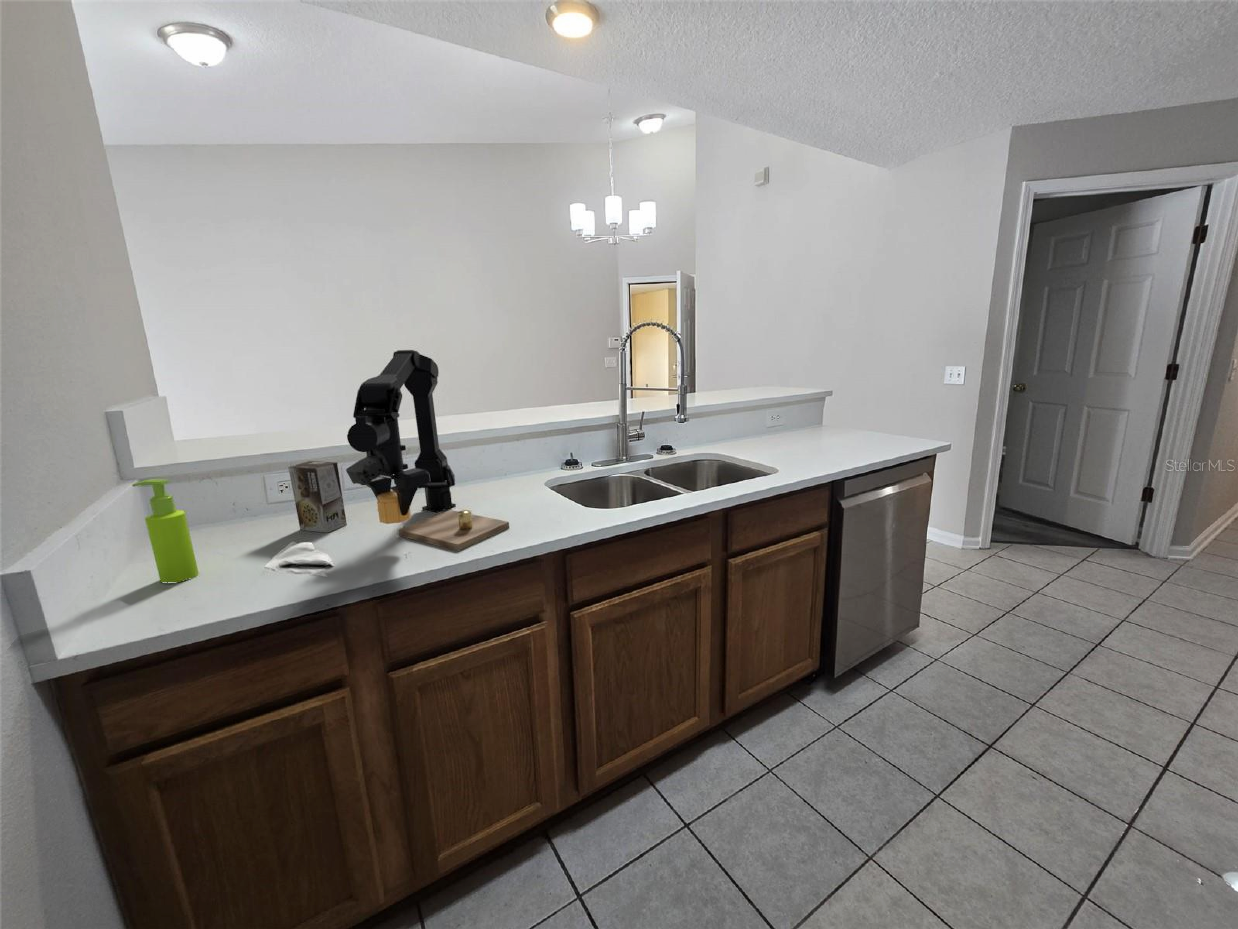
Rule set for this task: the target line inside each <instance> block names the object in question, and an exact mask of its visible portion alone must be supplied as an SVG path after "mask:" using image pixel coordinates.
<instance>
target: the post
mask: <svg viewBox="0 0 1238 929" xmlns="http://www.w3.org/2000/svg"><path fill="white" fill-rule="evenodd" d="M471 514H472V511H471V510H470V509H461V510H458V520H459V529H460V530H462V531H466V530H470V529H472V528H473V525H472V515H471Z"/></svg>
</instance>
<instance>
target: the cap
mask: <svg viewBox="0 0 1238 929" xmlns="http://www.w3.org/2000/svg"><path fill="white" fill-rule="evenodd" d="M377 498H378V500H377V502H376V503H377V511H378V519H379V522H380V523H383V524H388V525H389V524H399V523H402V522H405V521H409V520H410V519H411V517H412V515H411V514H412V513H411V507H410V508H409V511H408V513H407V515H404V516H403V515H402V514H401V511H400V507H399V502H398V497H397V493H396V492H394V491H393V490H391V491H389V492H385V493H381V494H379V495H378V496H377ZM377 498H376V499H377Z"/></svg>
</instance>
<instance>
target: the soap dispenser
mask: <svg viewBox="0 0 1238 929" xmlns="http://www.w3.org/2000/svg"><path fill="white" fill-rule="evenodd" d="M168 483H170V481H169V479H165V478H153V479H146V480H141V481H138V482H136V483H133V484H131V486H132V487H134V488H135V487H139V486H151V487H152V491H153V496H151V497H150V498H149V504H150V507H151V512H152V514H150V515H147V516H146V517H144V518H145V524H146V529H147V532H148V537H149V540H150V543H151V548H152V551H153V557H154V560H155V564H156V565H155V566H156V568H157V569H156V570H157V572H158V573H157V574H158V577H159V581H160V583H161V582H167V583H168V582H180V581H183V580H186V579H189V578H192V579H194V578H196V577H197V576H198V575H199V569H198V565H197V561H196V556H195V551H194V548H193V542H192V539H191V534H190V529H189V525H188V521H187V517H186V512H185V510H182V509H177V508H176V505H175V501H174V496H173V494H169V493H167V491H166V488H165V484H168ZM196 575H197V576H196ZM195 576H196V577H195ZM193 577H194V578H193ZM189 580H190V579H189ZM183 582H184V581H183ZM180 583H181V582H180Z"/></svg>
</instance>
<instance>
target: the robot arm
mask: <svg viewBox="0 0 1238 929" xmlns="http://www.w3.org/2000/svg"><path fill="white" fill-rule="evenodd" d="M438 378H439V366H438V364H437V363H436V362H435V361H434V360H433V359H432V358H431V357H428V356H426V355H423V354H420V353H419V351H418V350H414V349H399V350H398V349H397V351H393V354H392V358H391V359H390V361H389V362H388V363H387V365H386V366H385V367H384V368H383V370H382V371H381V372H380V374H378V375H376V376H375V377H371V378H368V379H366V380H365V381H363V382H362V383H361V384H360V385H359V387H358V389H357V393H356V398H355V403H354V410H353V415H352V417H353V419H355V423H354V424H352V425H351V426H350V428H349V429H348V431H347V434H346V439H347V442H348V444H349V445H350V447H351V448H352V449H354V450H355V451H357V452H360V453H366V457H363V458H361V459H360V460H357V461H356V462H355V463H353V464H352V465H350V466H349V467H347V468H346V469H345V472H346V473H347V475H348V477H349V478H350V481H351V482H352V484H353V485H356V484H358V485H360V486H367V487H368V488H370V489H371V491H372V492H373V495H374V496H375V498H376V500H377V501H378V498H377V496H378V495H379V494H381V493H385V492H389V491H394V492H396V493H397V497H398V502H399V507H400V511H401V514H402V515H403V516H404V515H407V513H408V511H409V508H410V509H411V505H412V503H413V500H414V496H416V493H417V491H418V489H424V494H425V503H426V505H424V506H422V507H421V509H422V510H425V511H428V512H429V511H430V512H435V513H439V512H442V511H445V510H448V509H451V508H453V507H455V506H457V504H456V503H454V502H453V501H452V494H451V489H450V488H451V487H454V486H456V479H455V474H454V472H453V470H452V468H451V466H450V465H449V463H448V457H447V456H446V455H445V453H444V452H443V451H442V450H441V448H440V445H439V443H440V442H439V435H438V430H437V429H438V428H437V420H436V413H435V406H434V397H433V394H434V392H435V389H436V387H437V386H438V382H439V381H438ZM403 385H404V387H405V388H406V390H407V391H408V392H409V393H410V395H411V396H412V399H413V405H414V415H415V421H416V429H417V435H418V436H417V437H418V441H419V442H418V444H419V454H418V457H417V459H415V461H414V467H413V468H410V469H409V465H408V463H404V459H403V458H404V457H403V451H406V450H407V447H406V445H405V444H401V436H400V427H399V421H398V420H399V419H398V418H400V413H399V410H400V407H401V404H402V400H403V393H402V390H401V388H402V387H403ZM392 481H393V483H394V484H395V485H394V486H392Z"/></svg>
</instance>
